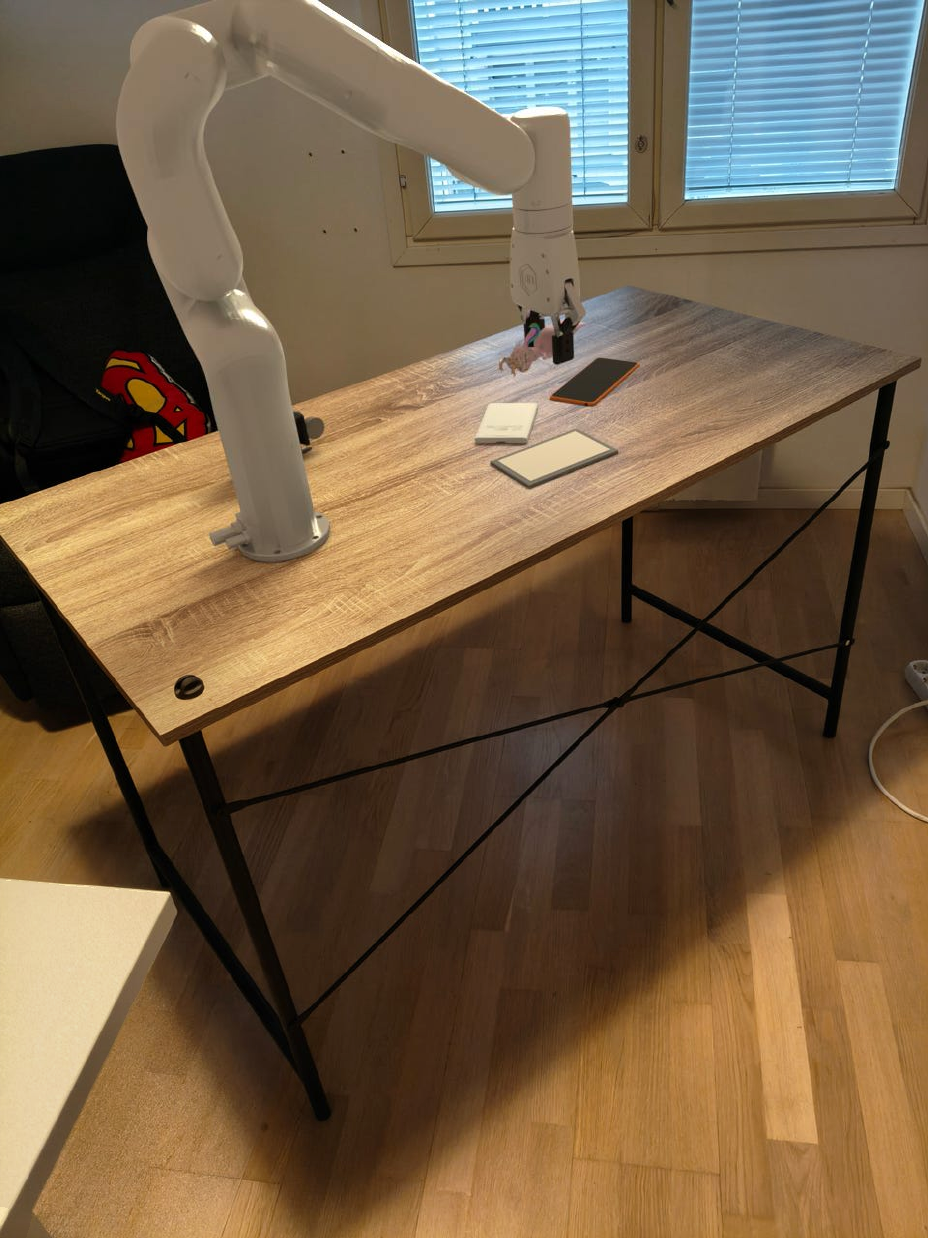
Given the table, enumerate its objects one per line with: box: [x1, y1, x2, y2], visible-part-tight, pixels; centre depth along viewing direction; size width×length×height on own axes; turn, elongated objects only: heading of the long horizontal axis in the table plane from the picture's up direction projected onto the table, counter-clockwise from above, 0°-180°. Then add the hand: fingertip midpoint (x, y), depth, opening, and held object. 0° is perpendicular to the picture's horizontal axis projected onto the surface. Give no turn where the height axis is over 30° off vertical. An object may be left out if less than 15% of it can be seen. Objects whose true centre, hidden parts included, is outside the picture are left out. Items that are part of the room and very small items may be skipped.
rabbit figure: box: [498, 318, 587, 378], centre depth 130 cm, size 6×6×15 cm
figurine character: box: [292, 409, 325, 454], centre depth 148 cm, size 7×8×15 cm
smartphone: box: [549, 356, 640, 407], centre depth 162 cm, size 8×18×1 cm, turn 147°
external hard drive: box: [474, 402, 539, 444], centre depth 151 cm, size 2×8×12 cm
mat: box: [489, 428, 619, 489], centre depth 141 cm, size 16×10×1 cm, turn 122°
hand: (549, 353), depth 131 cm, fingers closed on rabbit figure, 5 cm apart
